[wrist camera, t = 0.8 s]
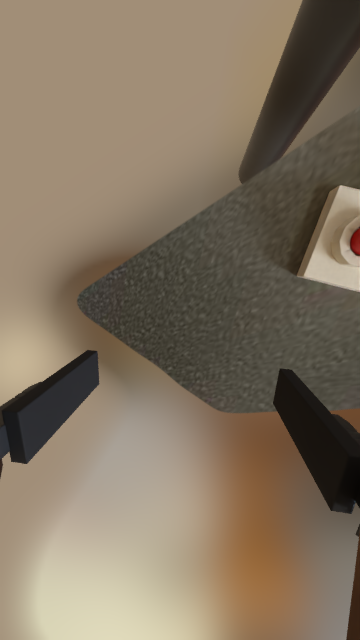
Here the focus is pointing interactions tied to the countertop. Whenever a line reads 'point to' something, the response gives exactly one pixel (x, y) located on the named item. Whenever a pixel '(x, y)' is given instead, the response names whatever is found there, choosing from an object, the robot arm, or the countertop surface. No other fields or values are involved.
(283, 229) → the countertop surface
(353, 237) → the stop button
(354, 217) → the white button base
